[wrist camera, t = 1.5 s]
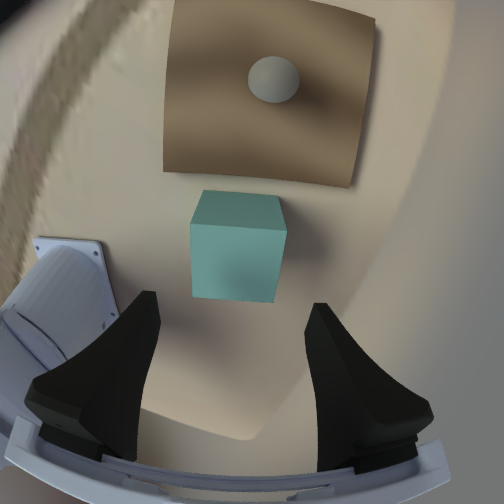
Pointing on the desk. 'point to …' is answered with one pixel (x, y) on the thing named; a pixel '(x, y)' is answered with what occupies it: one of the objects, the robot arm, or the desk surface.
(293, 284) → the desk surface
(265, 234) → the teal cube
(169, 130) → the base plate
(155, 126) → the desk surface
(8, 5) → the pipe connector
